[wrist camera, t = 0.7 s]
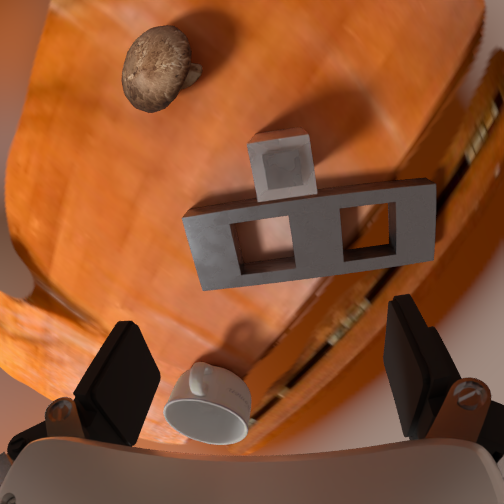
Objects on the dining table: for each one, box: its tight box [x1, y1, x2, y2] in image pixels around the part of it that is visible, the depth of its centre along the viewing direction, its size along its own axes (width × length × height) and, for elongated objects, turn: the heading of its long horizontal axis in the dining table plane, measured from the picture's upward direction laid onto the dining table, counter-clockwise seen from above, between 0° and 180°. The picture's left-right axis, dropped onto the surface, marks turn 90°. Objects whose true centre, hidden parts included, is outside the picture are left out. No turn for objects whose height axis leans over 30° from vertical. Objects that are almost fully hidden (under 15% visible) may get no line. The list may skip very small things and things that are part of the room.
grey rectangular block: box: [247, 127, 317, 202], centre depth 25 cm, size 4×4×9 cm
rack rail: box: [182, 178, 436, 291], centre depth 30 cm, size 24×8×2 cm, turn 101°
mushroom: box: [122, 25, 202, 113], centre depth 24 cm, size 8×8×6 cm
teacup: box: [163, 362, 251, 445], centre depth 38 cm, size 14×11×8 cm
